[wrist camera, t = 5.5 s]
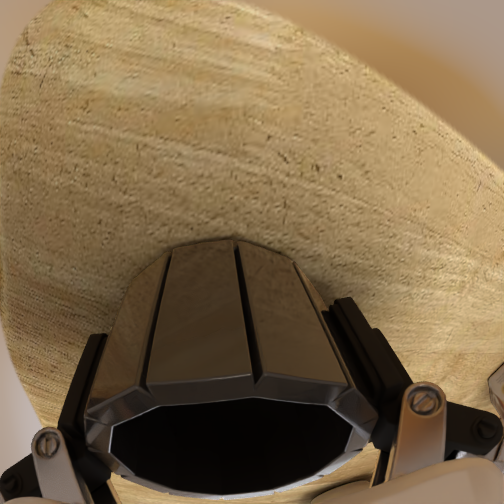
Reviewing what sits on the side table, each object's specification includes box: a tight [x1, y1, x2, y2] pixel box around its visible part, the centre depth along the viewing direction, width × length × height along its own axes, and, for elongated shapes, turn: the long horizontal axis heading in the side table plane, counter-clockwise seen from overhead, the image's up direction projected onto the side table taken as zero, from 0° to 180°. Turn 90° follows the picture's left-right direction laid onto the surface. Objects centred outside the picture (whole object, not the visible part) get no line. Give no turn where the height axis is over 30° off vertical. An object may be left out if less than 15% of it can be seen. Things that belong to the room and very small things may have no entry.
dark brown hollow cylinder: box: [84, 239, 379, 500], centre depth 9 cm, size 9×7×6 cm
